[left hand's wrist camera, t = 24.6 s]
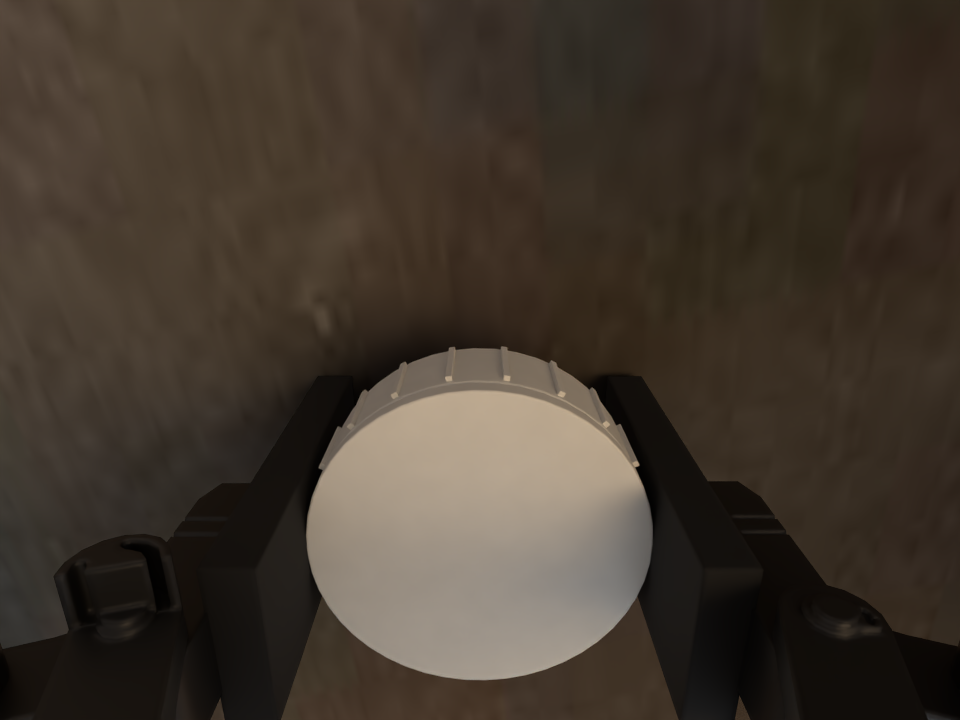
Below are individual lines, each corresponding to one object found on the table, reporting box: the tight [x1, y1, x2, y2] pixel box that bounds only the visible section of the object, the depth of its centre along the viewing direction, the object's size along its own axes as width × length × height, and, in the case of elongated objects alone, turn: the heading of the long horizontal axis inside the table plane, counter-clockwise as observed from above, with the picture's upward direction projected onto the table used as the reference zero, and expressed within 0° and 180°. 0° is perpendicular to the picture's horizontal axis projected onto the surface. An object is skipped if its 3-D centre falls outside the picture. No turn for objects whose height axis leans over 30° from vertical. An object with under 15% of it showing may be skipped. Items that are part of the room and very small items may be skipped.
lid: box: [306, 346, 653, 680], centre depth 11 cm, size 6×6×2 cm
